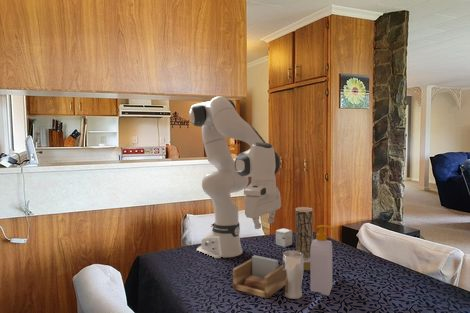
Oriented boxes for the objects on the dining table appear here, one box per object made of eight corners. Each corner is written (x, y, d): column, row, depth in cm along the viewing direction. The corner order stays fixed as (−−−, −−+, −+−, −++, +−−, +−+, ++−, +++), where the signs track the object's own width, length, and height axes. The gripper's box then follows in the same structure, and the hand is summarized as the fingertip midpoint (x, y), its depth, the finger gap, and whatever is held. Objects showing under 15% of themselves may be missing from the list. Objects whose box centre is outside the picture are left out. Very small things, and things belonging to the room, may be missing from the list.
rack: (233, 291, 122) (232, 269, 121) (254, 277, 133) (253, 257, 133) (267, 301, 114) (267, 277, 113) (286, 286, 125) (286, 264, 125)
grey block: (252, 280, 128) (251, 256, 128) (254, 278, 130) (254, 255, 129) (276, 286, 123) (275, 261, 122) (278, 284, 124) (278, 260, 124)
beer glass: (281, 293, 119) (280, 250, 119) (300, 292, 120) (300, 249, 119) (285, 302, 112) (285, 257, 112) (306, 301, 113) (306, 256, 112)
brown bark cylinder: (313, 273, 136) (312, 210, 135) (295, 272, 138) (295, 210, 136) (313, 266, 143) (312, 207, 142) (296, 265, 144) (295, 206, 143)
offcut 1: (245, 283, 122) (245, 279, 122) (250, 279, 125) (250, 275, 125) (266, 288, 118) (266, 283, 117) (271, 284, 121) (271, 279, 121)
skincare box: (275, 244, 174) (275, 230, 173) (283, 242, 178) (283, 227, 177) (285, 247, 169) (284, 232, 169) (292, 244, 173) (292, 230, 173)
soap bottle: (331, 296, 116) (330, 229, 115) (310, 293, 119) (309, 228, 118) (334, 286, 124) (334, 223, 123) (315, 283, 127) (314, 221, 126)
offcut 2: (243, 287, 123) (243, 282, 123) (249, 283, 126) (249, 278, 126) (265, 293, 118) (265, 288, 117) (271, 288, 121) (271, 284, 121)
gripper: (270, 183, 135) (270, 218, 135) (240, 190, 118) (241, 230, 119) (284, 184, 131) (285, 220, 132) (256, 192, 114) (257, 233, 115)
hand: (264, 225), depth 125 cm, fingers open, 8 cm apart
